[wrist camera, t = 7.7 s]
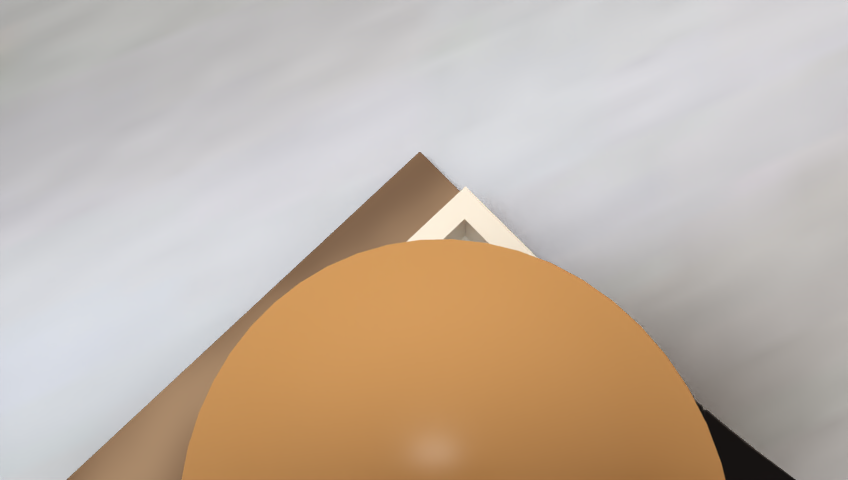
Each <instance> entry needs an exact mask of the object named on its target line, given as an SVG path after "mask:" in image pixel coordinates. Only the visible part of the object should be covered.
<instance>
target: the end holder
mask: <svg viewBox="0 0 848 480" xmlns="http://www.w3.org/2000/svg"><path fill="white" fill-rule="evenodd" d="M438 239H455V240H464V241H473V242H483V243H488V244H493V245H497V246H501V247H505V248H509V249H513V250H517V251H521V252H523V253H526V254H528V255H531V256H534V257H536V256H535V255H534V254H533V253H532V252H531V251H530V250H529V249H528V248H527V247H526V246H525V245H524V244H523V243H522V242H521V241H520V240H519V239H518V238H517V237H516V236H515V235H514V234H513V233H512V232H511V231H510V230H509V229H508V228H507V227H506V226H505V225H504V224H503V223H502V222H501V221H500V220H499V219H498V218H497V217H496V216H495V215H494V214H493V213H492V212H491V211H490V210H489V209H488V208H487V207H486V206H485V205H484V204H483V203H482V202H481V201H480V200H479V199H478V198H477V197H476V196H475V195H474V194H473V193H472V192H471V191H470V190H469V189H468V188H467V187H466V186H465V187H464V188H463V189H462V190H461V191H460V192H459V193H458V194H457V195H456V196H455V197H454V198H452V199H451V200H450V201H449V202H448V203H447V204H446V205H445V206H444V207H443V208H442V209H441V210H440V211H439V212H438V213H436V214H435V215H434V216H433V217H432V218H431V219H430V220H429V221H428V222H427V223H426V224H425V225H424V226H423V227H422V228H420V229H419V230H418V231H417V232H416V233H415V234H414V235H413V236H412V237H411V238H410V239H409V240H408V241H407V242H409V241H416V240H438ZM536 258H537V257H536Z"/></svg>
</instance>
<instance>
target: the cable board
mask: <svg viewBox="0 0 848 480" xmlns="http://www.w3.org/2000/svg"><path fill="white" fill-rule="evenodd" d="M459 192H460V191H459V190H458V189H457V188H456V187H455V186H454V185H453V184H452V183H451V182H450V181H449V180H448V179H447V178H446V177H445V176H444V175H443V174H442V173H441V172H440V171H439V170H438V169H437V168H436V167H435V166H434V165H433V164H432V163H431V162H430V161H429V160H428V159H427V158H426V157H425V156H424V155H423V154H422V153H421V152H419V153H418V154H417V155H416V156H415V157H413V158H412V159H411V160H410V161H409V162H408V163H407V164H406V165H405V166H404V167H403V168H402V169H401V170H399V171H398V172H397V173H396V174H395V175H394V176H393V177H392V178H391V179H390V180H389V181H388V182H387V183H385V184H384V185H383V186H382V187H381V188H380V189H379V190H378V191H377V192H376V193H375V194H374V195H373V196H371V197H370V198H369V199H368V200H367V201H366V202H365V203H364V204H363V205H362V206H361V207H360V208H359V209H357V210H356V211H355V212H354V213H353V214H352V215H351V216H350V217H349V218H348V219H347V220H346V221H345V222H344V223H342V224H341V225H340V226H339V227H338V228H337V229H336V230H335V231H334V232H333V233H332V234H331V235H330V236H328V237H327V238H326V239H325V240H324V241H323V242H322V243H321V244H320V245H319V246H318V247H317V248H316V249H314V250H313V251H312V252H311V253H310V254H309V255H308V256H307V257H306V258H305V259H304V260H303V261H302V262H300V263H299V264H298V265H297V266H296V267H295V268H294V269H293V270H292V271H291V272H290V273H289V274H288V275H286V276H285V277H284V278H283V279H282V280H281V281H280V282H279V283H278V284H277V285H276V286H275V287H274V288H272V289H271V290H270V291H269V292H268V293H267V294H266V295H265V296H264V297H263V298H262V299H261V300H260V301H258V302H257V303H256V304H255V305H254V306H253V307H252V308H251V309H250V310H249V311H248V312H247V313H246V314H244V315H243V316H242V317H241V318H240V319H239V320H238V321H237V322H236V323H235V324H234V325H233V326H232V327H230V328H229V329H228V330H227V331H226V332H225V333H224V334H223V335H222V336H221V337H220V338H219V339H218V340H216V341H215V342H214V343H213V344H212V345H211V346H210V347H209V348H208V349H207V350H206V351H205V352H204V353H202V354H201V355H200V356H199V357H198V358H197V359H196V360H195V361H194V362H193V363H192V364H191V365H190V366H188V367H187V368H186V369H185V370H184V371H183V372H182V373H181V374H180V375H179V376H178V377H177V378H176V379H174V380H173V381H172V382H171V383H170V384H169V385H168V386H167V387H166V388H165V389H164V390H163V391H162V392H160V393H159V394H158V395H157V396H156V397H155V398H154V399H153V400H152V401H151V402H150V403H149V404H148V405H147V406H145V407H144V408H143V409H142V410H141V411H140V412H139V413H138V414H137V415H136V416H135V417H134V418H133V419H131V420H130V421H129V422H128V423H127V424H126V425H125V426H124V427H123V428H122V429H121V430H120V431H119V432H117V433H116V434H115V435H114V436H113V437H112V438H111V439H110V440H109V441H108V442H107V443H106V444H105V445H103V446H102V447H101V448H100V449H99V450H98V451H97V452H96V453H95V454H94V455H93V456H92V457H91V458H89V459H88V460H87V461H86V462H85V463H84V464H83V465H82V466H81V467H80V468H79V469H78V470H77V471H75V472H74V473H73V474H72V475H71V476H70V477H69V478H68V479H67V480H182V475H183V470H184V464H185V459H186V454H187V449H188V445H189V442H190V439H191V436H192V433H193V430H194V426H195V423H196V420H197V417H198V414H199V411H200V409H201V407H202V405H203V403H204V400H205V398H206V396H207V394H208V392H209V389H210V387H211V385H212V383H213V381H214V379H215V377H216V376H217V374H218V372H219V371H220V369H221V367H222V366H223V364H224V362H225V361H226V359H227V357H228V356H229V354H230V352H231V351H232V350H233V349H234V347H235V346H236V345H237V343H238V342H239V341H240V340H241V338H242V337H243V336H244V334H245V333H246V332H247V331H248V329H249V328H250V327H251V326H252V325H253V324H254V323H255V322H256V321H257V320H258V319H259V318H260V317H261V316H262V315H263V314H264V313H265V312H266V311H267V310H268V309H269V308H270V307H271V306H272V305H273V304H274V303H275V302H276V301H277V300H278V299H280V298H281V297H282V296H284V295H285V294H286V293H287V292H289V291H290V290H291V289H293V288H294V287H295V286H296V285H298V284H299V283H300V282H302V281H304V280H305V279H307V278H309V277H310V276H312V275H314V274H315V273H317V272H319V271H320V270H322V269H324V268H326V267H327V266H329V265H332V264H334V263H336V262H339V261H341V260H343V259H346V258H348V257H350V256H352V255H355V254H357V253H361V252H364V251H368V250H371V249H375V248H378V247H382V246H385V245H389V244H396V243H402V242H407V241H408V240H409V239H410V238H411V237H412V236H413V235H414V234H415V233H416V232H417V231H418V230H419V229H420V228H422V227H423V226H424V225H425V224H426V223H427V222H428V221H429V220H430V219H431V218H432V217H433V216H434V215H435V214H436V213H438V212H439V211H440V210H441V209H442V208H443V207H444V206H445V205H446V204H447V203H448V202H449V201H450V200H451V199H452V198H454V197H455V196H456V195H457V194H458V193H459Z"/></svg>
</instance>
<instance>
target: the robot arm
mask: <svg viewBox="0 0 848 480" xmlns="http://www.w3.org/2000/svg"><path fill="white" fill-rule="evenodd" d="M694 400H695V399H694ZM695 402H696V404H697V406H698V408H699V410H700V412H701V414H702V416H703V418H704V420H705V421H706V423H707V426H708V428H709V431H710V434H711V436H712V439H713V442H714V445H715V447H716V450H717V453H718V455H719V458H720V461H721V463H722V468H723V472H724V476H725V480H795V479H794V478H793V477H791V476H790V475H789V474H787V473H786V472H785V471H783V470H782V469H781V468H779V467H778V466H777V465H775V464H774V463H773V462H771V461H770V460H769V459H767V458H766V457H764V456H763V455H762V454H760V453H759V452H758V451H756V450H755V449H754V448H753V447H751V446H750V445H749V444H748V443H746V442H745V441H744V440H743V439H742V438H740V437H739V436H738V435H737V434H735V433H734V432H733V431H732V430H730V429H729V428H728V427H727V426H725V425H724V424H723V423H722V422H721V421H720V420H718V419H717V418H716V417H715V416H714V415H712V414H711V413H710V412H709V411H708V410H703V406H702V405H700V404H699V403H698V402H697V401H696V400H695Z"/></svg>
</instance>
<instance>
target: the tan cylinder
mask: <svg viewBox="0 0 848 480" xmlns="http://www.w3.org/2000/svg"><path fill="white" fill-rule="evenodd" d="M182 480H725V476H724V472H723V468H722V463H721V461H720V458H719V455H718V453H717V450H716V447H715V445H714V442H713V439H712V436H711V434H710V431H709V428H708V426H707V423H706V421H705V420H704V418H703V416H702V414H701V412H700V410H699V408H698V406H697V404H696V402H695V400H694V398H693V396H692V394H691V392H690V390H689V389H688V387H687V386H686V384H685V383H684V381H683V380H682V378H681V377H680V375H679V374H678V372H677V371H676V369H675V368H674V366H673V365H672V363H671V362H670V360H669V359H668V358H667V356H666V355H665V354H664V352H663V351H662V350H661V349H660V348H659V347H658V346H657V344H656V343H655V342H654V341H653V340H652V339H651V338H650V336H649V335H648V334H647V333H646V332H645V331H644V329H643V328H642V327H641V326H640V325H639V324H638V323H637V322H635V321H634V320H633V319H632V318H631V317H630V316H629V315H628V314H627V313H625V312H624V311H623V310H622V309H621V308H620V307H619V306H618V305H617V304H615V303H614V302H613V301H612V300H611V299H609V298H608V297H606V296H605V295H603V294H602V293H601V292H599V291H598V290H596V289H595V288H593V287H592V286H591V285H589V284H588V283H586V282H585V281H583V280H582V279H580V278H578V277H576V276H574V275H572V274H571V273H569V272H567V271H565V270H563V269H561V268H559V267H557V266H556V265H554V264H552V263H549V262H547V261H544V260H541V259H539V258H536V257H534V256H531V255H528V254H526V253H523V252H521V251H517V250H513V249H509V248H505V247H501V246H497V245H493V244H488V243H483V242H473V241H464V240H455V239H438V240H416V241H409V242H402V243H396V244H389V245H385V246H382V247H378V248H375V249H371V250H368V251H364V252H361V253H357V254H355V255H352V256H350V257H348V258H346V259H343V260H341V261H339V262H336V263H334V264H332V265H329V266H327V267H326V268H324V269H322V270H320V271H319V272H317V273H315V274H314V275H312V276H310V277H309V278H307V279H305V280H304V281H302V282H300V283H299V284H298V285H296V286H295V287H294V288H293V289H291V290H290V291H289V292H287V293H286V294H285V295H284V296H282V297H281V298H280V299H278V300H277V301H276V302H275V303H274V304H273V305H272V306H271V307H270V308H269V309H268V310H267V311H266V312H265V313H264V314H263V315H262V316H261V317H260V318H259V319H258V320H257V321H256V322H255V323H254V324H253V325H252V326H251V327H250V328H249V329H248V331H247V332H246V333H245V334H244V336H243V337H242V338H241V340H240V341H239V342H238V343H237V345H236V346H235V347H234V349H233V350H232V351H231V352H230V354H229V356H228V357H227V359H226V361H225V362H224V364H223V366H222V367H221V369H220V371H219V372H218V374H217V376H216V377H215V379H214V381H213V383H212V385H211V387H210V389H209V392H208V394H207V396H206V398H205V400H204V403H203V405H202V407H201V409H200V411H199V414H198V417H197V420H196V423H195V426H194V430H193V433H192V436H191V439H190V442H189V445H188V449H187V454H186V459H185V464H184V470H183V475H182Z"/></svg>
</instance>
